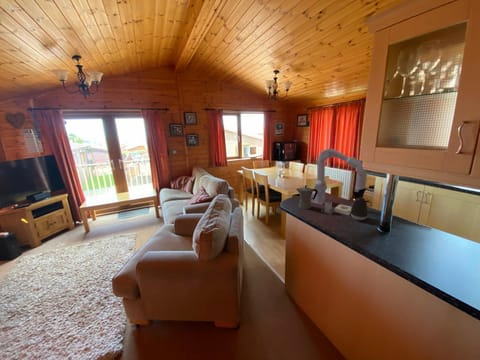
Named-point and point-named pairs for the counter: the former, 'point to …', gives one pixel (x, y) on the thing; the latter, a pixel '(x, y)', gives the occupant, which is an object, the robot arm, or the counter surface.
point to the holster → (328, 213)
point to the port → (343, 209)
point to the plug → (328, 207)
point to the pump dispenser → (359, 209)
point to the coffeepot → (305, 197)
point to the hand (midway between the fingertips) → (358, 198)
